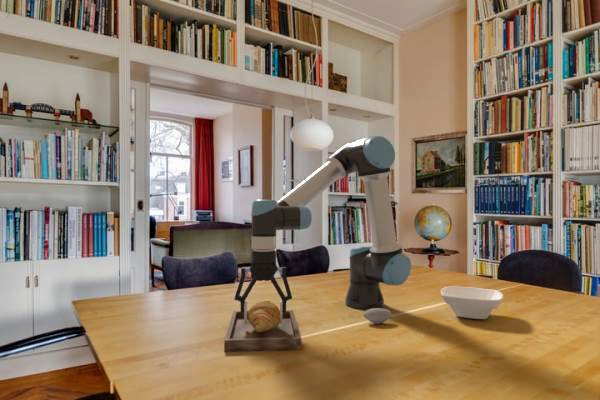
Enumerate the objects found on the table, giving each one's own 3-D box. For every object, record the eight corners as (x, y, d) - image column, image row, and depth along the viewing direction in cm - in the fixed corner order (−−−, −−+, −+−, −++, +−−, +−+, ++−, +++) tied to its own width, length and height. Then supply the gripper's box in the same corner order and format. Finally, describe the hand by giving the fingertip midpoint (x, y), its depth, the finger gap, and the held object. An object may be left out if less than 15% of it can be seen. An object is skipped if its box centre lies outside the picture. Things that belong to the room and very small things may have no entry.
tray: (293, 318, 136) (293, 310, 136) (300, 349, 107) (300, 338, 107) (233, 320, 134) (233, 311, 134) (224, 351, 105) (224, 340, 105)
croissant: (269, 347, 110) (283, 322, 110) (237, 330, 110) (251, 305, 110) (275, 323, 131) (287, 302, 131) (249, 309, 131) (260, 288, 131)
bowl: (502, 313, 146) (502, 289, 146) (505, 328, 127) (505, 301, 127) (443, 306, 155) (443, 284, 155) (437, 320, 136) (437, 295, 136)
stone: (388, 320, 135) (388, 305, 135) (394, 325, 130) (394, 309, 130) (360, 321, 134) (360, 306, 134) (366, 326, 128) (366, 310, 128)
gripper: (299, 248, 126) (299, 318, 125) (227, 248, 124) (227, 319, 123) (301, 251, 118) (301, 325, 118) (225, 251, 116) (224, 327, 116)
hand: (263, 322), depth 120 cm, fingers closed on croissant, 10 cm apart
